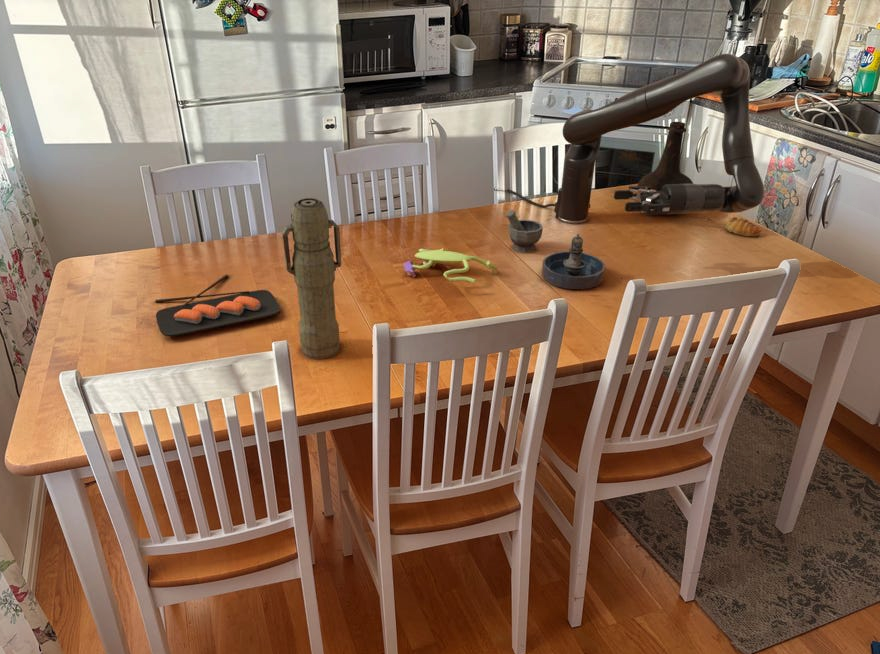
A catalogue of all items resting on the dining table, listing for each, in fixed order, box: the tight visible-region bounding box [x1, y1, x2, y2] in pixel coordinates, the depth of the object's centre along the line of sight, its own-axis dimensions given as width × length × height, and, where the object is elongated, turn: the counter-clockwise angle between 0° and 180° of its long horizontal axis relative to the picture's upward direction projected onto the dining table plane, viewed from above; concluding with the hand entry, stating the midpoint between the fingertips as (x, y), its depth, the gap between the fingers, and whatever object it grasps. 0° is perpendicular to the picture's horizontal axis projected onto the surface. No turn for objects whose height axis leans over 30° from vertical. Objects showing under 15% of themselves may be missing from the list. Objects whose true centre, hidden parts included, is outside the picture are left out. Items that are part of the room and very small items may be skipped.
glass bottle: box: [636, 121, 694, 216], centre depth 229 cm, size 18×18×28 cm
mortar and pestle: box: [505, 209, 544, 253], centre depth 209 cm, size 11×9×12 cm
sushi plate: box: [155, 274, 281, 337], centre depth 184 cm, size 29×30×4 cm
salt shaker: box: [563, 233, 586, 276], centre depth 192 cm, size 6×6×12 cm
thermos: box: [281, 197, 342, 360], centre depth 157 cm, size 9×12×35 cm
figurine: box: [402, 247, 499, 285], centre depth 197 cm, size 18×27×6 cm
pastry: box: [725, 216, 762, 237], centre depth 219 cm, size 9×7×4 cm
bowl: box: [541, 251, 606, 290], centre depth 195 cm, size 16×16×4 cm
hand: (619, 200), depth 185 cm, fingers open, 8 cm apart
